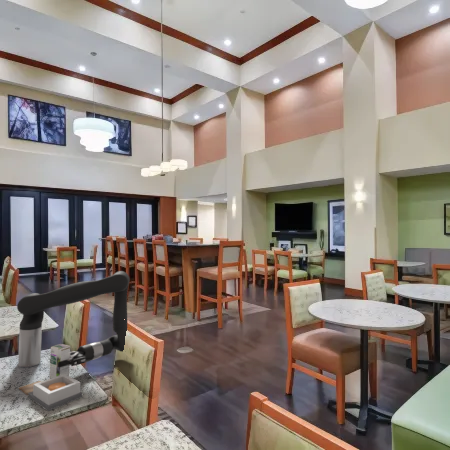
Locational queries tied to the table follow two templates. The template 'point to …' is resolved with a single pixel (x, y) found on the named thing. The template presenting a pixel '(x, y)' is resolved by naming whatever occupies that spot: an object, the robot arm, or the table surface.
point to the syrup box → (57, 355)
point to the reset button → (56, 386)
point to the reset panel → (55, 392)
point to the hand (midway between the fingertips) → (54, 363)
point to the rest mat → (28, 388)
